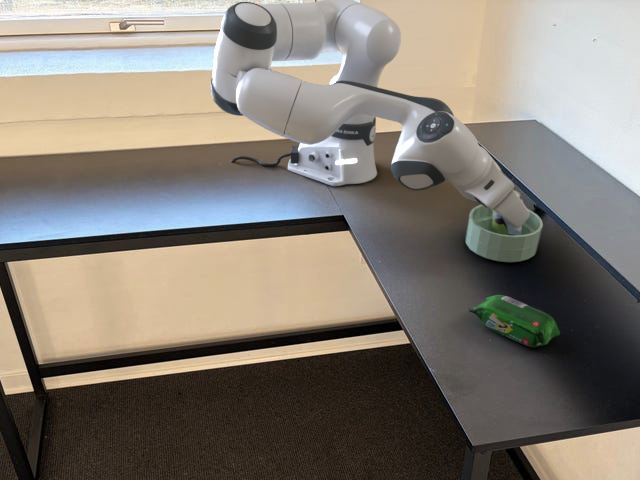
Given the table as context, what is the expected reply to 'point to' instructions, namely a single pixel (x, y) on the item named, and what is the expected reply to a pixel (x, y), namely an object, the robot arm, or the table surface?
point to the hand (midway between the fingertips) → (509, 214)
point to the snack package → (516, 320)
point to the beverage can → (504, 224)
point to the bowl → (502, 237)
